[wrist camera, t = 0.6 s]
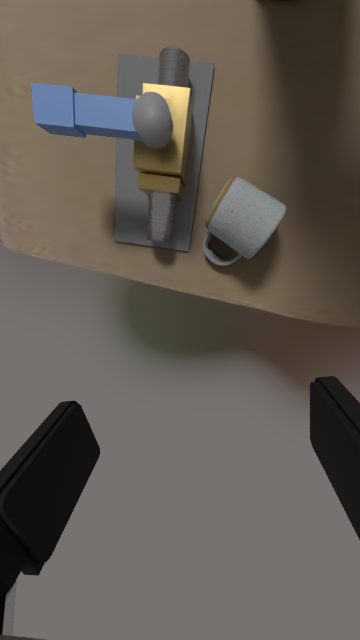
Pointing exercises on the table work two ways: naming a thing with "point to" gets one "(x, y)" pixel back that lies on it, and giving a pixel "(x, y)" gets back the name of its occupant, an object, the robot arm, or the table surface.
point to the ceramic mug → (242, 219)
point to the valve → (167, 146)
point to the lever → (102, 115)
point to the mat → (128, 195)
